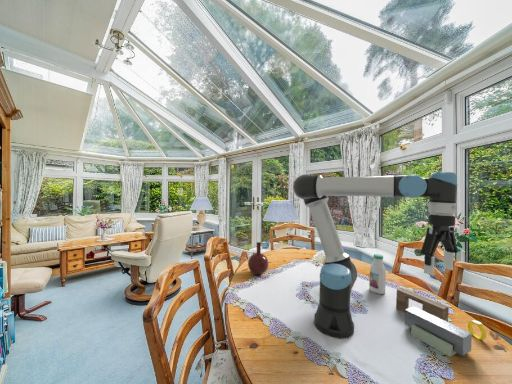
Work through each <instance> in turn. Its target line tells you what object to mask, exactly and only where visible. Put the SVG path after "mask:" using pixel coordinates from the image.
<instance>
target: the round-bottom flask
mask: <svg viewBox="0 0 512 384" xmlns="http://www.w3.org/2000/svg"><path fill="white" fill-rule="evenodd" d="M261 249H262V242H259V241H258V242H256V252H255V253H252V255H250V256H249V258H248V262H247V266H248V269H249V271H250V272H251V273H252V274H255V275H262V274H264V273H266V271H267V270H268V268H269V259H268V258H267V256H266V255H265V254H263V253H261V251H262V250H261Z"/></svg>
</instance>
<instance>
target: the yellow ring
mask: <svg viewBox="0 0 512 384" xmlns="http://www.w3.org/2000/svg"><path fill="white" fill-rule="evenodd" d="M473 325H475V326H477V327H478V328H479V330H480V333H481V336H480V337H479V335H477V334H476V333H475V332H474V329H473ZM467 329H468V332H470V333H472V337H474V338H476V339H477V340H478V341H484V340H486V338H487V332H486V329H485V327H484V326H483V323H482V322H481V321H479V320H475V319H472V320H470V321H469V322H468V323H467Z"/></svg>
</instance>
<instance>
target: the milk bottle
mask: <svg viewBox="0 0 512 384" xmlns="http://www.w3.org/2000/svg"><path fill="white" fill-rule="evenodd" d="M383 261H384V255H382V254H378V253H377V254H376V253H375V254H373V262H372V264H371V265H370V269H369V283H368V285H369V286H368V287H369V291H371V292H372V293H375V294H379V295H383V294H386V283H387V282H386V280H387V279H386V277H387V271H386V266H385V265H384V262H383Z"/></svg>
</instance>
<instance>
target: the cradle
mask: <svg viewBox="0 0 512 384" xmlns="http://www.w3.org/2000/svg"><path fill="white" fill-rule="evenodd" d="M410 329H411V331H410V333H411V336H413V337H414V338H417V339H418V340H420V341H421V342H423V343H425V344H427V345H428V346H430V347H432V348H434V349H435V350H436V351H438V352H441V353H442V354H444V355H446V356H448V357H450V358H451V357H453V356H454V355H456V354H457V353H456V352H454V351H453V345H451V344H449V343H447V342H445V341H444V340H442V339H440V338H438V337H436V336H434V335H432V334H430V333H428V332H427V331H425V330H423V329H421V328H419V327H417V326H415V325H412V327H410Z"/></svg>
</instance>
